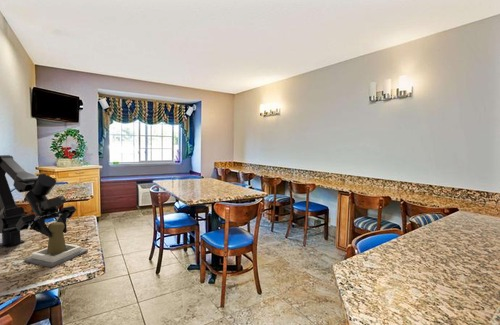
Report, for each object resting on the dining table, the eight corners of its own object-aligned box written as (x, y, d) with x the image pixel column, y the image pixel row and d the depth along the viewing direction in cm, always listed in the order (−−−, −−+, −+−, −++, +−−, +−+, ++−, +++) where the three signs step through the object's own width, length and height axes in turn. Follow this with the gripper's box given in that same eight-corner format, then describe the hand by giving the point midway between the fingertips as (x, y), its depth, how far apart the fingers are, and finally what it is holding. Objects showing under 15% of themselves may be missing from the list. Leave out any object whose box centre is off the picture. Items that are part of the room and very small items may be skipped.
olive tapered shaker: (48, 255, 95) (47, 226, 94) (45, 250, 99) (44, 222, 98) (68, 251, 99) (67, 223, 98) (64, 246, 103) (63, 219, 102)
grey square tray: (24, 261, 94) (24, 254, 94) (62, 246, 108) (62, 240, 108) (51, 267, 90) (51, 260, 90) (87, 251, 103) (87, 245, 103)
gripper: (19, 194, 90) (40, 229, 87) (73, 186, 107) (91, 215, 104) (7, 213, 93) (26, 248, 90) (61, 202, 111) (79, 231, 107)
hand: (58, 234), depth 98 cm, fingers closed on olive tapered shaker, 5 cm apart
